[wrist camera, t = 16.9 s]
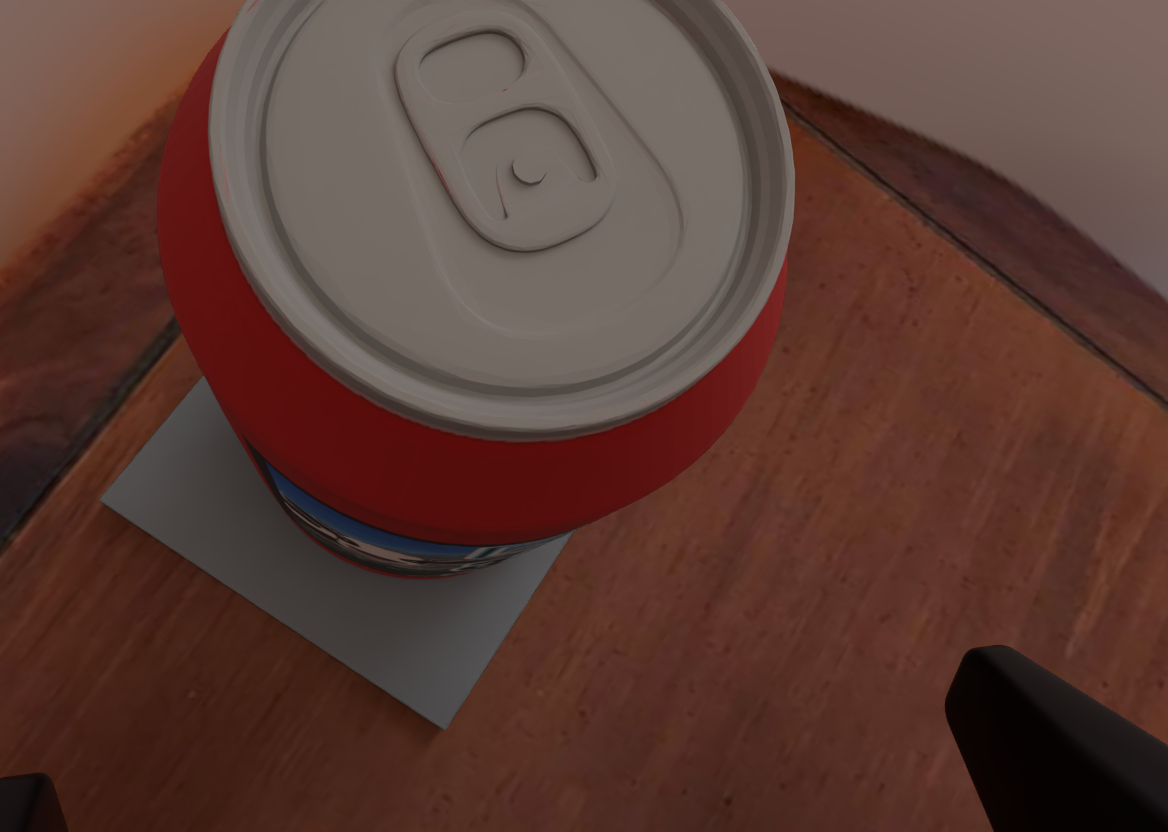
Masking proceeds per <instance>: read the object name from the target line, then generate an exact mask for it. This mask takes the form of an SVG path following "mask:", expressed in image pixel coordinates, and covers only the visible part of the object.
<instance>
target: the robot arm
mask: <svg viewBox="0 0 1168 832" xmlns="http://www.w3.org/2000/svg"><path fill="white" fill-rule="evenodd" d="M945 713H946V718H947V721H948V724H949V727H950V729H951V731H952V734H953V736H954V738H955V741H956V743H957V745H958V748H959V750H960V753H961V755H962V757H963V760H964V762H965V764H966V767H967V769H968V772H969V774H970V776H971V779H972V781H973V783H974V786H975V788H976V791H977V793H978V795H979V798H980V800H981V802H982V805H983V807H984V809H985V812H986V814H987V817H988V819H989V821H990V824H991V826H992V828H993V831H994V832H1168V745H1166V744H1165V743H1163V742H1162V741H1160V740H1158V739H1157V738H1155V737H1154V736H1152V735H1150V734H1149V733H1147V732H1146V731H1144V730H1142V729H1141V728H1139V727H1138V726H1136V725H1134V724H1133V723H1131V722H1130V721H1128V720H1126V719H1125V718H1123V717H1122V716H1120V715H1118V714H1117V713H1115V712H1114V711H1112V710H1110V709H1109V708H1107V707H1105V706H1104V705H1102V704H1101V703H1099V702H1097V701H1096V700H1094V699H1093V698H1091V697H1089V696H1088V695H1086V694H1085V693H1083V692H1081V691H1080V690H1078V689H1077V688H1075V687H1073V686H1072V685H1070V684H1069V683H1067V682H1065V681H1064V680H1062V679H1061V678H1059V677H1057V676H1056V675H1054V674H1053V673H1051V672H1049V671H1048V670H1046V669H1045V668H1043V667H1041V666H1040V665H1038V664H1036V663H1035V662H1033V661H1032V660H1030V659H1028V658H1027V657H1025V656H1024V655H1022V654H1020V653H1019V652H1017V651H1016V650H1014V649H1012V648H1010V647H1008V646H1004V645H992V646H985V647H977V648H972V649H970V650H969V651H968V652H966V653H965V655H964V657H963V658H962V661H961V663H960V665H959V668H958V670H957V672H956V675H955V677H954V679H953V682H952V684H951V686H950V689H949V691H948V693H947V696H946V699H945ZM0 832H68V827H67V824H66V821H65V818H64V815H63V812H62V809H61V806H60V803H59V800H58V796H57V793H56V790H55V787H54V784H53V782H52V780H51V778H50V777H49V776H48V775H47V774H45V773H32V774H24V775H17V776H9V777H3V778H0Z"/></svg>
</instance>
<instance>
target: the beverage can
mask: <svg viewBox="0 0 1168 832" xmlns="http://www.w3.org/2000/svg"><path fill="white" fill-rule="evenodd" d="M794 199H795V170H794V161H793V152H792V146H791V140H790V134H789V129H788V125H787V122H786V118H785V114H784V110H783V107H782V105H781V102H780V99H779V96H778V93H777V90H776V87H775V85H774V83H773V81H772V79H771V76H770V74H769V72H768V70H767V67H766V65H765V63H764V61H763V60H762V58H761V56H760V54H759V52H758V50H757V49H756V47H755V45H754V44H753V42H752V40H751V39H750V37H749V36H748V34H747V33H746V31H745V29H744V28H743V26H742V25H741V24H740V23H739V21H738V20H737V19H736V17H735V16H734V15H733V13H732V12H731V11H730V9H729V8H728V7H727V6H726V5H725V4H724V2H723V1H722V0H246V1H245V2H244V4H243V5H242V7H241V8H240V10H239V11H238V13H237V15H236V17H235V19H234V22H233V24H232V25H231V27H230V28H229V29H228V30H227V31H226V32H225V33H224V34H223V35H222V37H221V38H220V39H219V40H218V42H217V43H216V44H215V45H214V47H213V48H212V49H211V50H210V52H209V53H208V54H207V56H206V58H205V59H204V61H203V62H202V64H201V65H200V67H199V69H198V70H197V72H196V73H195V75H194V77H193V79H192V81H191V83H190V85H189V87H188V89H187V90H186V92H185V94H184V96H183V98H182V101H181V103H180V105H179V107H178V110H177V112H176V115H175V118H174V120H173V123H172V126H171V128H170V131H169V135H168V138H167V142H166V146H165V150H164V153H163V157H162V164H161V170H160V176H159V182H158V196H157V233H158V244H159V251H160V258H161V266H162V270H163V274H164V278H165V283H166V287H167V291H168V295H169V298H170V301H171V304H172V306H173V309H174V312H175V315H176V318H177V321H178V323H179V325H180V328H181V330H182V332H183V334H184V336H185V339H186V341H187V343H188V345H189V347H190V349H191V351H192V353H193V355H194V357H195V359H196V361H197V363H198V365H199V367H200V369H201V371H202V373H203V374H204V376H205V378H206V380H207V382H208V384H209V386H210V388H211V390H212V392H213V394H214V396H215V398H216V400H217V401H218V403H219V405H220V407H221V409H222V411H223V413H224V415H225V416H226V418H227V420H228V422H229V423H230V425H231V427H232V428H233V430H234V432H235V434H236V435H237V437H238V439H239V440H240V442H241V444H242V446H243V447H244V449H245V451H246V452H247V454H248V456H249V458H250V459H251V461H252V463H253V464H254V466H255V468H256V470H257V471H258V473H259V475H260V476H261V478H262V480H263V481H264V483H265V484H266V486H267V487H268V489H269V490H270V491H271V493H272V494H273V496H274V497H275V499H276V500H277V502H278V503H279V505H280V506H281V507H282V509H283V510H284V512H285V513H286V514H287V515H288V517H289V518H290V519H291V520H292V521H293V522H294V524H295V525H296V526H297V527H298V528H299V529H300V530H301V531H302V532H304V533H305V534H306V535H307V536H308V537H309V538H310V539H311V540H313V541H314V542H315V543H316V544H318V545H319V546H320V547H322V548H323V549H325V550H326V551H328V552H329V553H331V554H332V555H334V556H336V557H338V558H340V559H342V560H343V561H345V562H348V563H350V564H352V565H354V566H357V567H359V568H362V569H365V570H368V571H371V572H374V573H378V574H382V575H386V576H391V577H397V578H404V579H440V578H449V577H454V576H459V575H464V574H468V573H471V572H474V571H478V570H481V569H484V568H487V567H489V566H492V565H495V564H498V563H501V562H503V561H506V560H508V559H511V558H514V557H516V556H519V555H521V554H523V553H526V552H528V551H530V550H533V549H535V548H537V547H539V546H542V545H544V544H546V543H549V542H551V541H553V540H556V539H558V538H560V537H563V536H565V535H567V534H570V533H572V532H574V531H576V530H578V529H580V528H582V527H584V526H586V525H588V524H590V523H592V522H594V521H596V520H598V519H600V518H602V517H604V516H606V515H608V514H610V513H612V512H615V511H617V510H619V509H621V508H623V507H625V506H627V505H629V504H631V503H633V502H635V501H637V500H639V499H641V498H643V497H645V496H647V495H649V494H650V493H652V492H653V491H655V490H657V489H658V488H660V487H661V486H663V485H665V484H666V483H668V482H669V481H671V480H672V479H674V478H675V477H676V476H677V475H679V474H680V473H681V472H683V471H684V470H685V469H687V468H688V467H689V466H691V465H692V464H693V463H694V462H695V461H696V460H697V459H698V458H699V457H700V456H702V455H703V454H704V453H705V452H706V451H707V450H708V449H709V448H710V447H711V446H712V445H713V444H714V443H715V442H716V440H717V439H718V438H719V437H720V436H721V435H722V434H723V433H724V432H725V430H726V429H727V428H728V427H729V425H730V424H731V423H732V421H733V420H734V419H735V417H736V416H737V415H738V413H739V412H740V410H741V409H742V407H743V406H744V404H745V403H746V401H747V399H748V398H749V396H750V394H751V393H752V391H753V389H754V388H755V385H756V383H757V381H758V379H759V377H760V375H761V373H762V371H763V369H764V367H765V364H766V362H767V359H768V356H769V354H770V351H771V348H772V346H773V343H774V339H775V336H776V332H777V328H778V325H779V321H780V317H781V313H782V307H783V302H784V296H785V290H786V279H787V267H788V244H789V239H790V234H791V229H792V223H793V216H794Z"/></svg>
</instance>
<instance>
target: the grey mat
mask: <svg viewBox="0 0 1168 832" xmlns="http://www.w3.org/2000/svg"><path fill="white" fill-rule="evenodd" d="M100 502H101V503H103V504H104V505H106V506H107V507H109V508H110V509H112V510H113V511H115V512H116V513H118V514H119V515H121V516H122V517H124V518H125V519H127V520H128V521H130V522H131V523H133V524H134V525H136V526H137V527H139V528H140V529H142V530H143V531H145V532H146V533H148V534H149V535H151V536H152V537H154V538H155V539H157V540H158V541H160V542H161V543H163V544H164V545H166V546H167V547H169V548H170V549H172V550H173V551H175V552H176V553H178V554H179V555H181V556H182V557H184V558H185V559H187V560H188V561H190V562H191V563H193V564H194V565H196V566H197V567H199V568H200V569H202V570H203V571H205V572H206V573H208V574H209V575H211V576H212V577H214V578H215V579H217V580H218V581H220V582H221V583H223V584H224V585H226V586H227V587H229V588H230V589H232V590H233V591H235V592H236V593H238V594H239V595H241V596H242V597H244V598H245V599H247V600H248V601H250V602H251V603H253V604H254V605H256V606H257V607H259V608H260V609H262V610H263V611H265V612H266V613H268V614H269V615H271V616H272V617H274V618H275V619H277V620H278V621H280V622H281V623H283V624H284V625H286V626H287V627H289V628H290V629H292V630H293V631H295V632H296V633H298V634H299V635H301V636H302V637H304V638H305V639H307V640H308V641H310V642H311V643H313V644H314V645H316V646H317V647H319V648H320V649H322V650H323V651H325V652H326V653H328V654H329V655H331V656H332V657H334V658H335V659H337V660H338V661H340V662H341V663H343V664H344V665H346V666H347V667H349V668H350V669H352V670H353V671H355V672H356V673H358V674H359V675H361V676H362V677H364V678H365V679H367V680H368V681H370V682H371V683H373V684H374V685H376V686H377V687H379V688H380V689H382V690H383V691H385V692H386V693H388V694H389V695H391V696H392V697H394V698H395V699H397V700H398V701H400V702H401V703H403V704H404V705H406V706H407V707H409V708H410V709H412V710H413V711H415V712H416V713H418V714H419V715H421V716H422V717H424V718H425V719H427V720H428V721H430V722H431V723H433V724H434V725H436V726H437V727H439V728H440V729H442V730H446V729H447V727H448V726H449V724H450V723H451V721H452V720H453V718H454V716H455V715H456V713H457V712H458V710H459V709H460V707H461V706H462V704H463V702H464V701H465V699H466V698H467V696H468V695H469V693H470V692H471V690H472V689H473V687H474V685H475V684H476V682H477V681H478V679H479V678H480V676H481V675H482V673H483V671H484V670H485V668H486V667H487V665H488V664H489V662H490V661H491V659H492V657H493V656H494V654H495V653H496V651H497V650H498V648H499V647H500V645H501V643H502V642H503V640H504V639H505V637H506V636H507V634H508V633H509V631H510V630H511V628H512V626H513V625H514V623H515V622H516V620H517V619H518V617H519V616H520V614H521V612H522V611H523V609H524V608H525V606H526V605H527V603H528V602H529V600H530V598H531V597H532V595H533V594H534V592H535V591H536V589H537V588H538V586H539V584H540V583H541V581H542V580H543V578H544V577H545V575H546V574H547V572H548V571H549V569H550V567H551V566H552V564H553V563H554V561H555V560H556V558H557V557H558V555H559V553H560V552H561V550H562V549H563V547H564V546H565V544H566V543H567V541H568V539H569V538H570V536H571V535H572V533H573V532H572V533H570V534H567V535H565V536H563V537H560V538H558V539H556V540H553V541H551V542H549V543H546V544H544V545H542V546H539V547H537V548H535V549H533V550H530V551H528V552H526V553H523V554H521V555H519V556H516V557H514V558H511V559H508V560H506V561H503V562H501V563H498V564H495V565H492V566H489V567H487V568H484V569H481V570H478V571H474V572H471V573H468V574H464V575H459V576H454V577H449V578H440V579H404V578H397V577H391V576H386V575H382V574H378V573H374V572H371V571H368V570H365V569H362V568H359V567H357V566H354V565H352V564H350V563H348V562H345V561H343V560H342V559H340V558H338V557H336V556H334V555H332V554H331V553H329V552H328V551H326V550H325V549H323V548H322V547H320V546H319V545H318V544H316V543H315V542H314V541H313V540H311V539H310V538H309V537H308V536H307V535H306V534H305V533H304V532H302V531H301V530H300V529H299V528H298V527H297V526H296V525H295V524H294V522H293V521H292V520H291V519H290V518H289V517H288V515H287V514H286V513H285V512H284V510H283V509H282V507H281V506H280V505H279V503H278V502H277V500H276V499H275V497H274V496H273V494H272V493H271V491H270V490H269V489H268V487H267V486H266V484H265V483H264V481H263V480H262V478H261V476H260V475H259V473H258V471H257V470H256V468H255V466H254V464H253V463H252V461H251V459H250V458H249V456H248V454H247V452H246V451H245V449H244V447H243V446H242V444H241V442H240V440H239V439H238V437H237V435H236V434H235V432H234V430H233V428H232V427H231V425H230V423H229V422H228V420H227V418H226V416H225V415H224V413H223V411H222V409H221V407H220V405H219V403H218V401H217V400H216V398H215V396H214V394H213V392H212V390H211V388H210V386H209V384H208V382H207V380H206V378H205V376H204V375H203V376H202V377H201V378H200V380H199V381H198V382H197V383H196V384H195V386H194V387H193V388H192V389H191V390H190V392H189V393H188V394H187V395H186V396H185V398H184V399H183V400H182V401H181V402H180V403H179V405H178V406H177V407H176V408H175V409H174V411H173V412H172V413H171V414H170V415H169V417H168V418H167V419H166V420H165V421H164V423H163V424H162V425H161V426H160V427H159V429H158V430H157V431H156V432H155V433H154V434H153V436H152V437H151V438H150V439H149V440H148V442H147V443H146V444H145V445H144V446H143V448H142V449H141V450H140V451H139V452H138V454H137V455H136V456H135V457H134V458H133V460H132V461H131V462H130V463H129V464H128V465H127V467H126V468H125V469H124V470H123V471H122V473H121V474H120V475H119V476H118V477H117V479H116V480H115V481H114V482H113V483H112V485H111V486H110V487H109V488H108V489H107V491H106V492H105V493H104V494H103V495H102V496H101V498H100Z"/></svg>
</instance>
